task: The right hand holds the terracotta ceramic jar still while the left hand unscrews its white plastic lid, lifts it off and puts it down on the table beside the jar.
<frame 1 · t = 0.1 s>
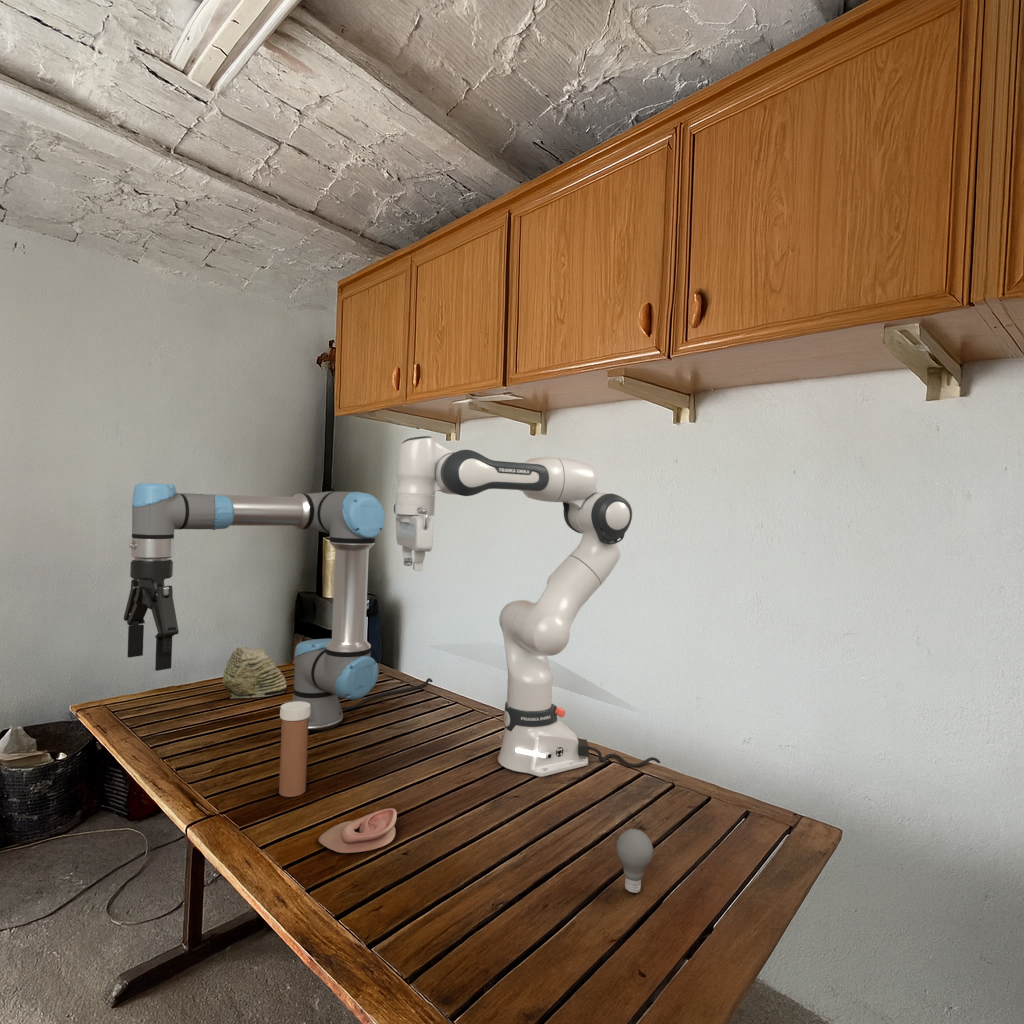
left hand: (148, 662, 129), 28 cm above the table, tool pointing down, fingers open, 13 cm apart
right hand: (412, 568, 144), 48 cm above the table, tool pointing down, fingers open, 8 cm apart
anatomical model: (358, 838, 118), on the table
lid: (295, 707, 135), point 18 cm above the table, screwed on, not yet turned
jar: (292, 791, 136), on the table
fossil: (254, 694, 198), on the table
light bulb: (632, 891, 106), on the table
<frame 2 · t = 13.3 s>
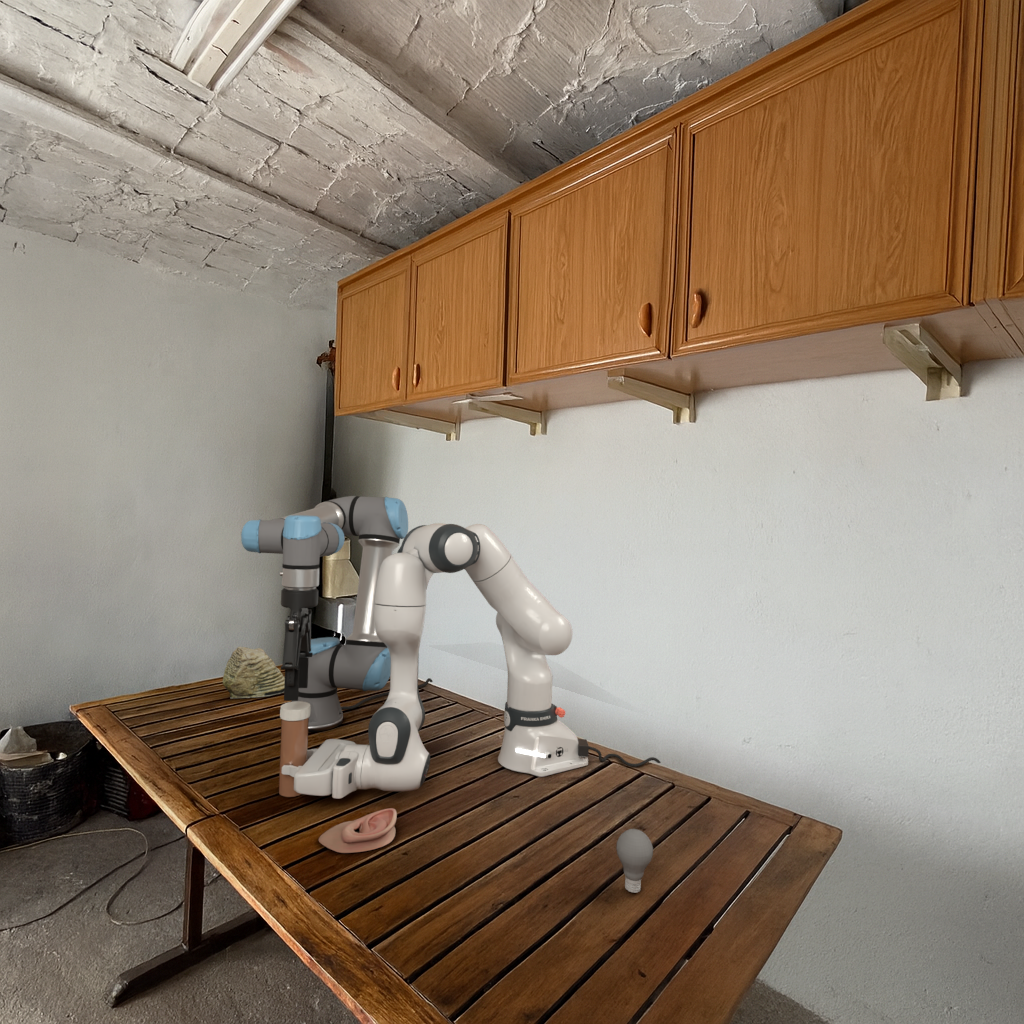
left hand: (296, 693, 135), 21 cm above the table, tool pointing down, fingers open, 8 cm apart
right hand: (289, 762, 136), 6 cm above the table, tool horizontal, fingers closed on jar, 5 cm apart
jar: (292, 791, 136), on the table, touching right hand
everything else where it was.
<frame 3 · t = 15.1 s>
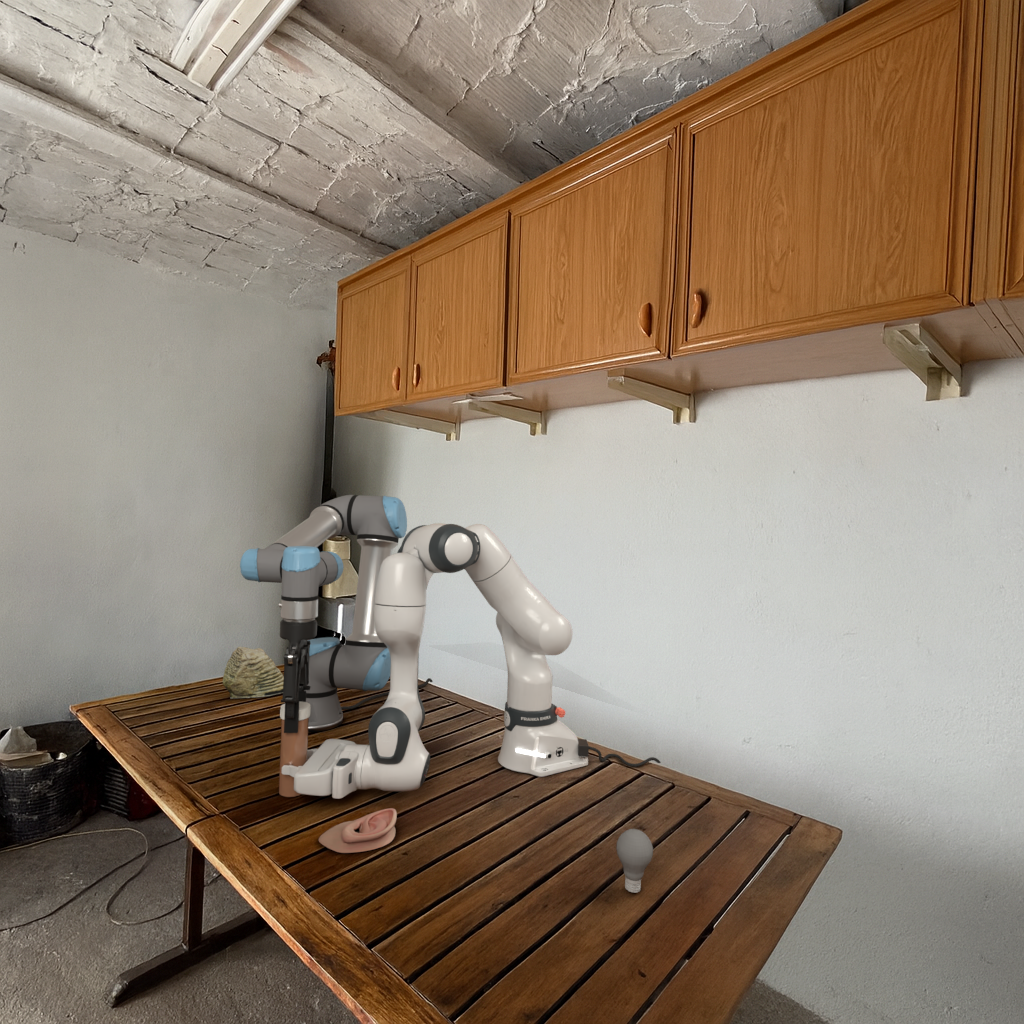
left hand: (294, 726, 136), 14 cm above the table, tool pointing down, fingers closed on lid, 6 cm apart
right hand: (289, 762, 136), 6 cm above the table, tool horizontal, fingers closed on jar, 5 cm apart
lid: (295, 707, 135), point 18 cm above the table, screwed on, not yet turned, touching left hand
jar: (292, 791, 136), on the table, touching right hand
everything else where it was.
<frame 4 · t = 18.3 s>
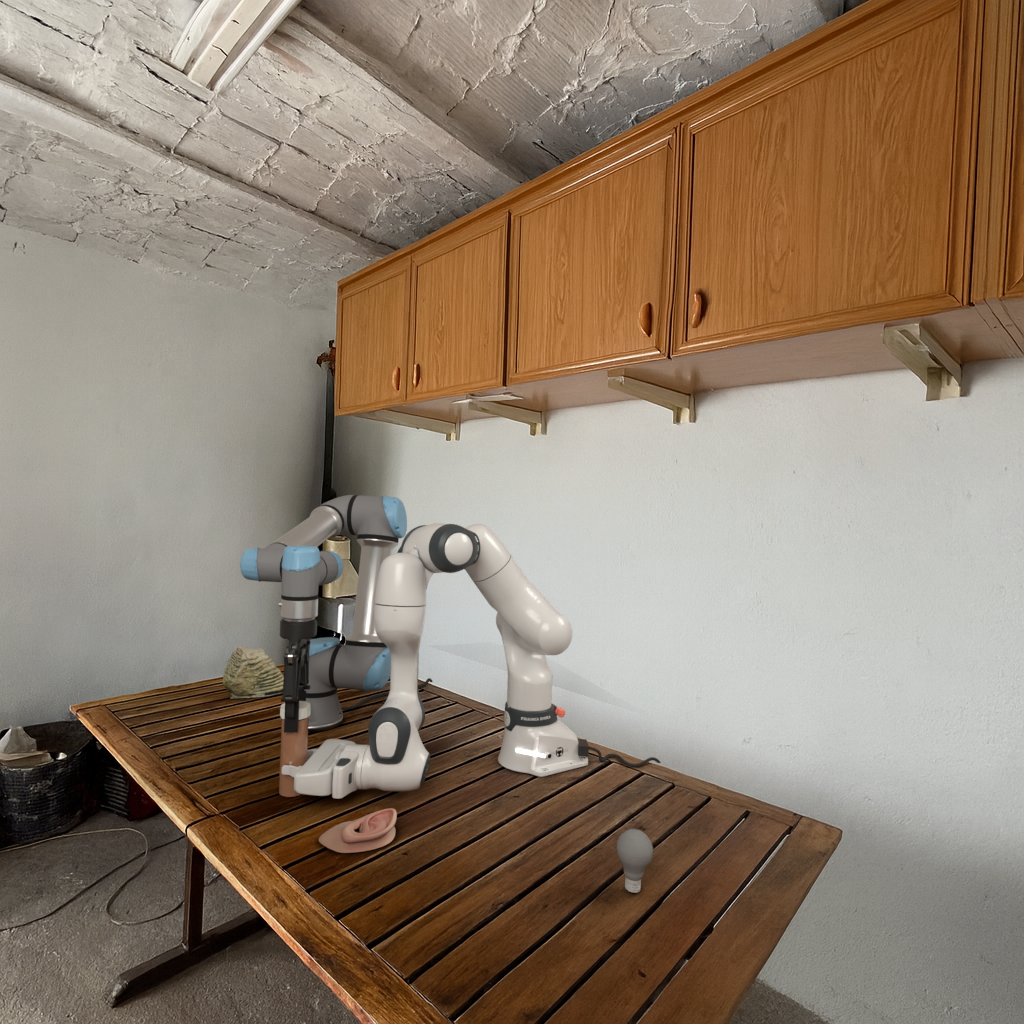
left hand: (294, 725, 136), 14 cm above the table, tool pointing down, fingers closed on lid, 6 cm apart
right hand: (289, 762, 136), 6 cm above the table, tool horizontal, fingers closed on jar, 5 cm apart
lid: (295, 706, 135), point 18 cm above the table, turned 93° so far, risen 0.1 cm, still on its thread, touching left hand
jar: (292, 791, 136), on the table, touching right hand
everything else where it was.
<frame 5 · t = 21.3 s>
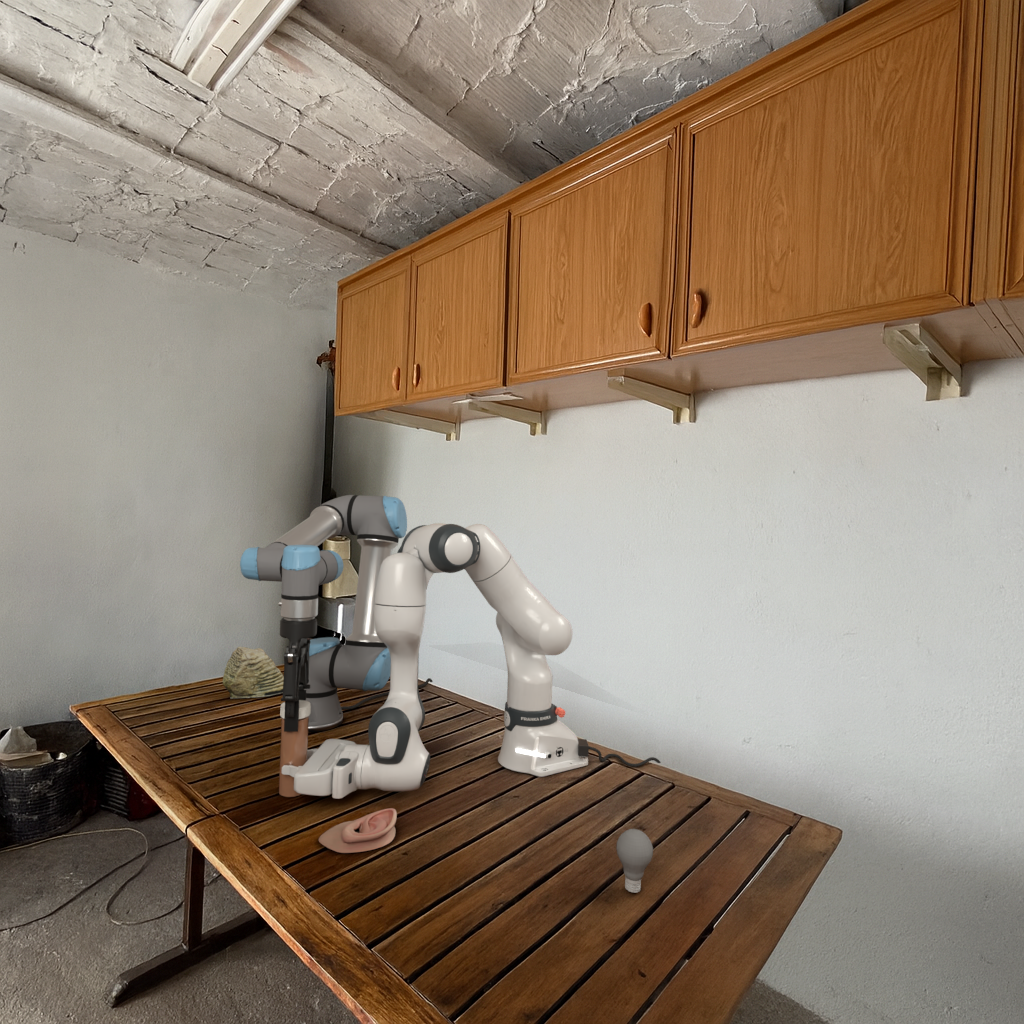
left hand: (294, 725, 136), 14 cm above the table, tool pointing down, fingers closed on lid, 6 cm apart
right hand: (289, 762, 136), 6 cm above the table, tool horizontal, fingers closed on jar, 5 cm apart
lid: (295, 706, 135), point 18 cm above the table, turned 185° so far, risen 0.3 cm, still on its thread, touching left hand
jar: (292, 791, 136), on the table, touching right hand
everything else where it was.
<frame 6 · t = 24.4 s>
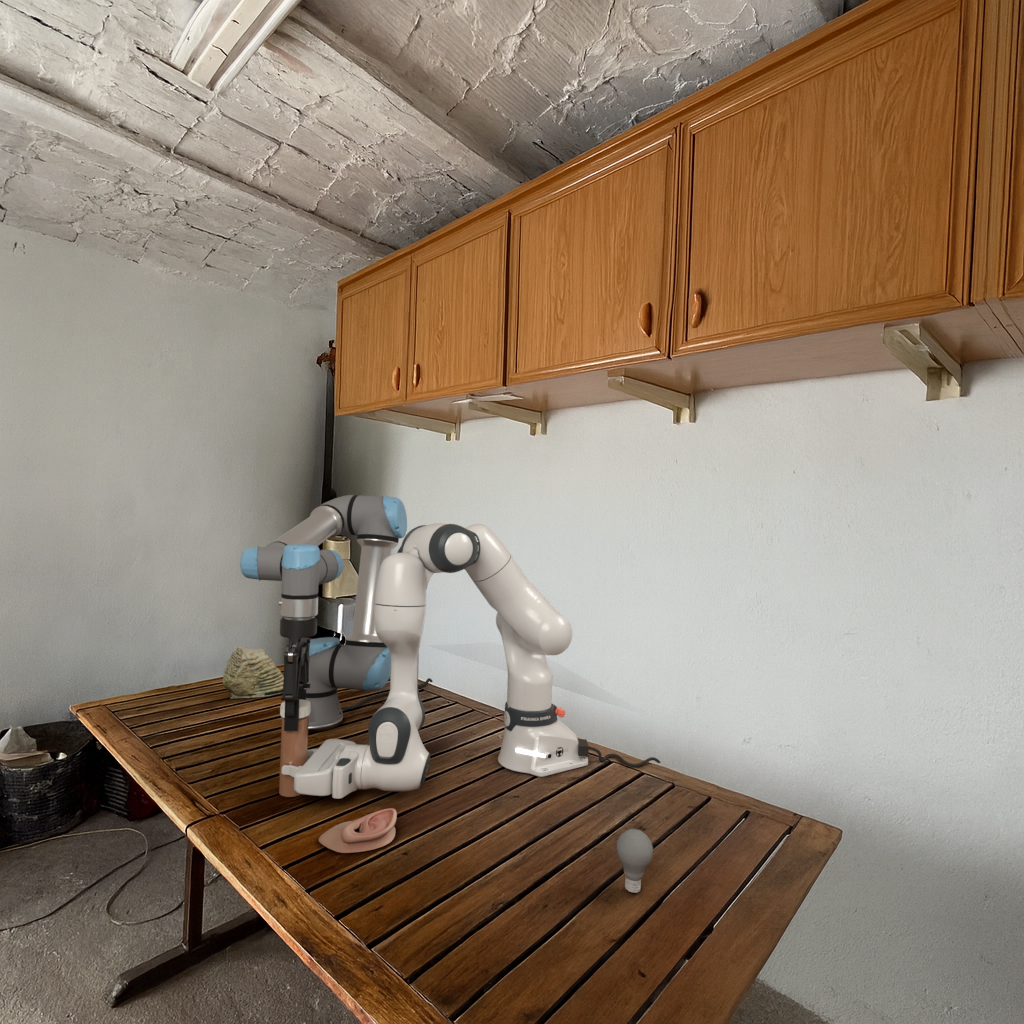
left hand: (294, 724, 136), 14 cm above the table, tool pointing down, fingers closed on lid, 6 cm apart
right hand: (289, 762, 136), 6 cm above the table, tool horizontal, fingers closed on jar, 5 cm apart
lid: (295, 705, 135), point 19 cm above the table, turned 278° so far, risen 0.4 cm, still on its thread, touching left hand
jar: (292, 791, 136), on the table, touching right hand
everything else where it was.
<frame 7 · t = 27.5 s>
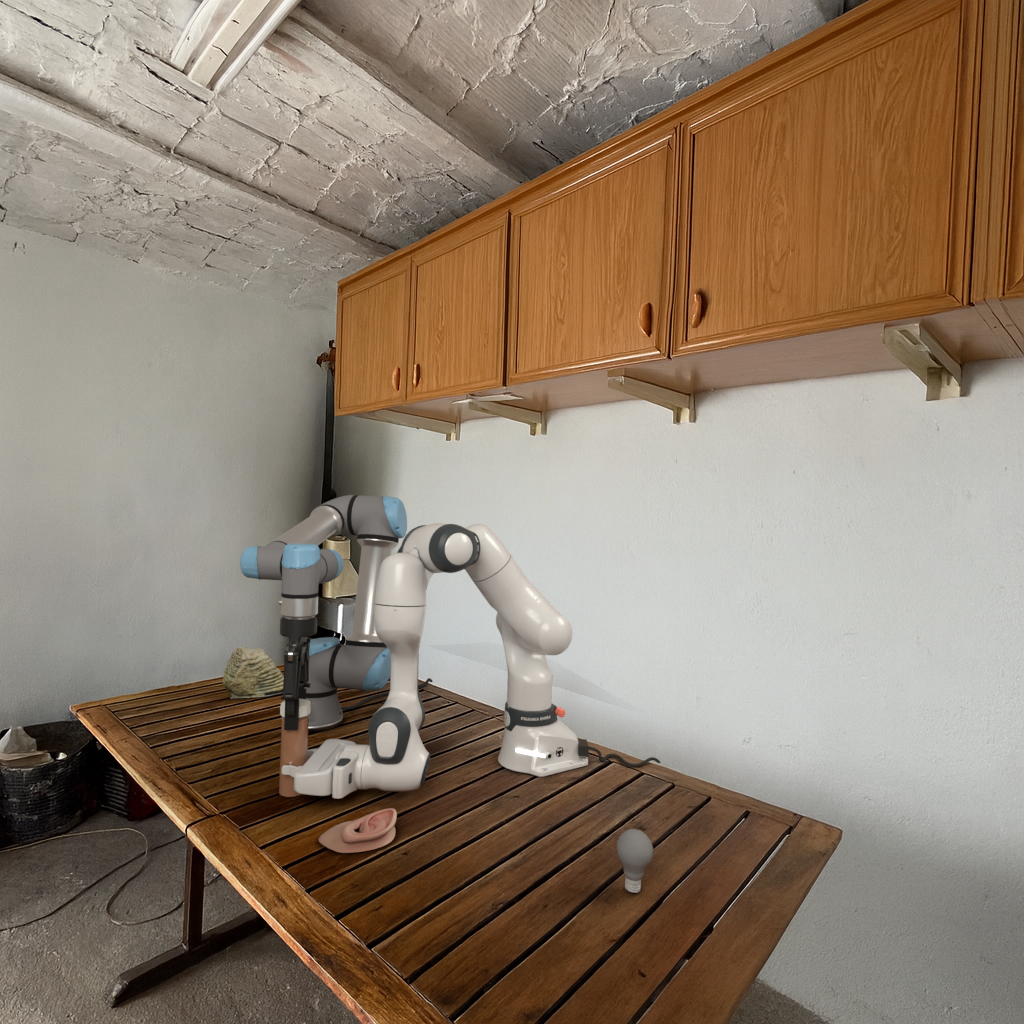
left hand: (294, 723, 136), 15 cm above the table, tool pointing down, fingers closed on lid, 6 cm apart
right hand: (289, 762, 136), 6 cm above the table, tool horizontal, fingers closed on jar, 5 cm apart
lid: (295, 704, 135), point 19 cm above the table, turned 371° so far, risen 0.6 cm, still on its thread, touching left hand
jar: (292, 791, 136), on the table, touching right hand
everything else where it was.
when the left hand's fingers open (0 cm above the table, at t = 38.9 s): lid stays where it is, point 2 cm above the table.
when the right hand's fingers open (6 cm above the table, at t = 39.7 s): jar stays where it is, on the table.
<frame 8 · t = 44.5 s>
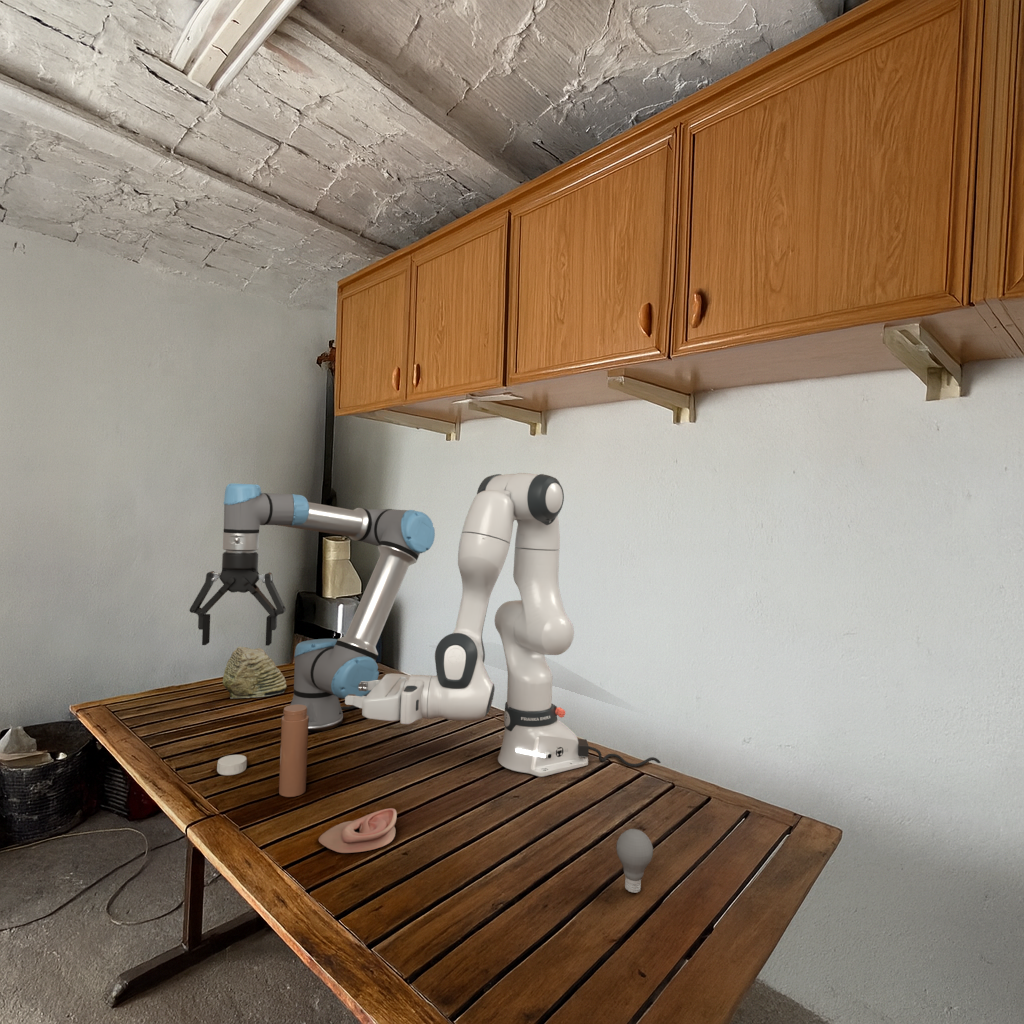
left hand: (237, 644, 145), 29 cm above the table, tool pointing down, fingers open, 13 cm apart
right hand: (352, 692, 135), 22 cm above the table, tool horizontal, fingers open, 8 cm apart
lid: (232, 761, 145), point 2 cm above the table, off its thread
jar: (292, 791, 136), on the table
everything else where it was.
at the end: lid came off its thread; lid point 1.9 cm above the table; the left hand is holding nothing; the right hand is holding nothing; jar tilted 0°; jar moved 0.0 cm from its start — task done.
